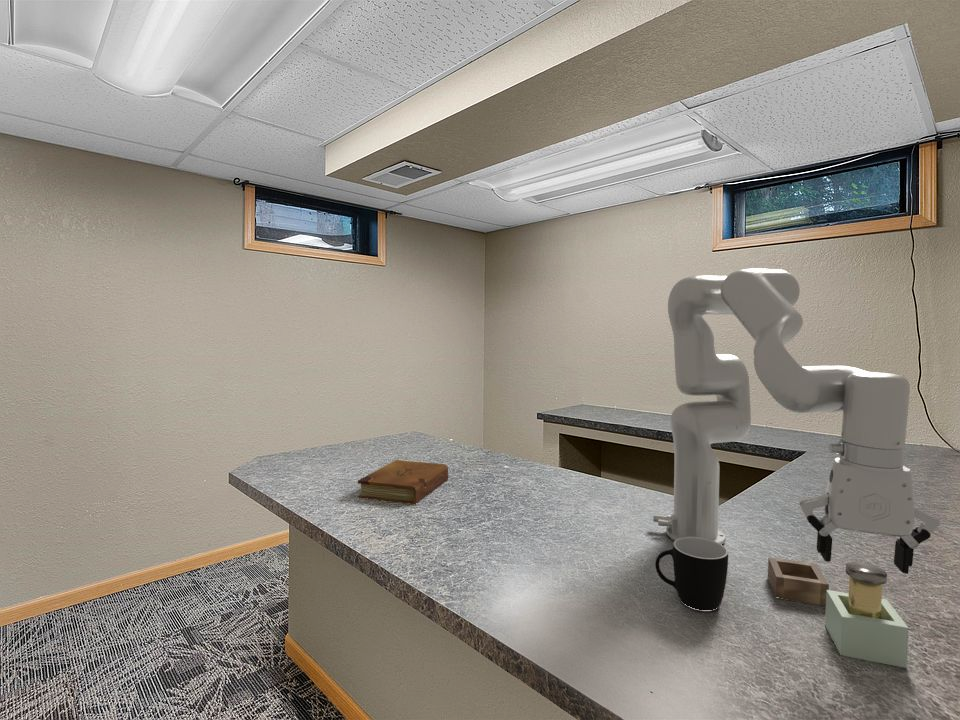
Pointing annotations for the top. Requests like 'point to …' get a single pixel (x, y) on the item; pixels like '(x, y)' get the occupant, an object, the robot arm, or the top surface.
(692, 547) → the mug
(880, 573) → the pin
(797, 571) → the mount
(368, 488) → the diary
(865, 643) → the socket
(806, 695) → the top surface
